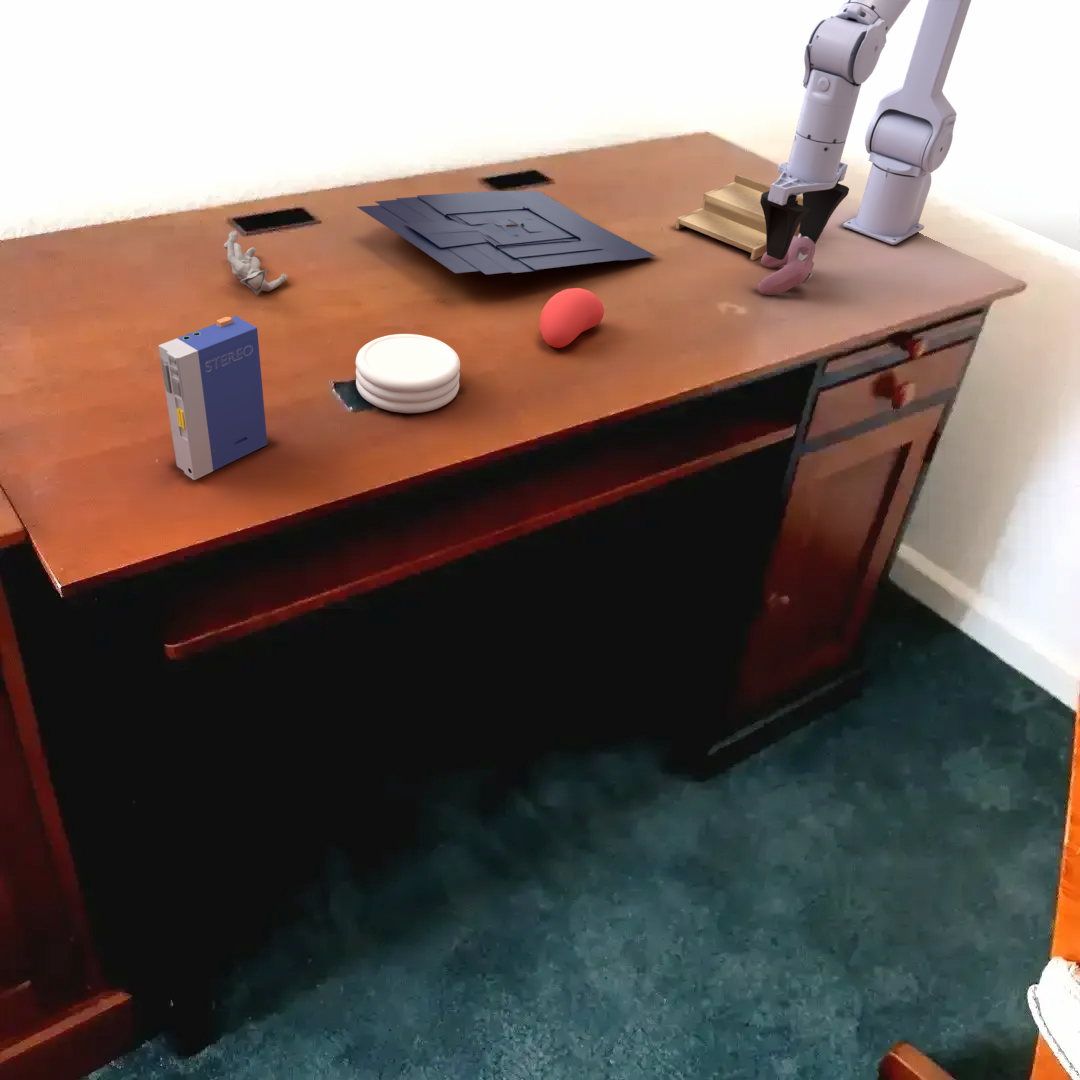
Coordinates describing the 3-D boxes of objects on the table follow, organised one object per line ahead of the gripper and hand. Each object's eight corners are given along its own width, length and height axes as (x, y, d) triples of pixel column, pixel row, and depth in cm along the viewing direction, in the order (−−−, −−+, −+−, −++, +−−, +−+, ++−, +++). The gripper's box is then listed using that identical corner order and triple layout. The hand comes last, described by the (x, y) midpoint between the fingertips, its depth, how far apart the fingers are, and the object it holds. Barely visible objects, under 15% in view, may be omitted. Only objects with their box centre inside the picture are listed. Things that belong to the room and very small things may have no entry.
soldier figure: (276, 265, 124) (306, 277, 114) (251, 299, 124) (279, 313, 114) (221, 221, 120) (248, 229, 110) (195, 255, 120) (220, 266, 110)
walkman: (247, 432, 95) (235, 311, 88) (267, 445, 94) (257, 323, 87) (173, 467, 90) (153, 342, 83) (193, 481, 89) (175, 355, 82)
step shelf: (730, 205, 150) (737, 173, 147) (806, 234, 144) (814, 202, 141) (675, 228, 141) (681, 195, 138) (753, 260, 135) (761, 226, 133)
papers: (346, 223, 130) (348, 193, 128) (532, 209, 148) (537, 183, 146) (461, 303, 116) (466, 272, 114) (652, 277, 134) (659, 249, 132)
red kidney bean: (520, 341, 116) (524, 309, 110) (575, 293, 119) (583, 260, 113) (554, 371, 115) (561, 341, 109) (609, 322, 118) (618, 290, 112)
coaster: (413, 352, 109) (413, 322, 107) (479, 393, 104) (481, 361, 102) (335, 383, 103) (333, 351, 101) (401, 427, 98) (402, 395, 96)
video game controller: (784, 312, 128) (823, 269, 124) (754, 291, 127) (793, 246, 123) (785, 279, 136) (823, 237, 132) (757, 259, 135) (794, 215, 131)
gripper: (821, 115, 127) (793, 224, 135) (757, 135, 118) (731, 252, 126) (874, 132, 123) (842, 243, 132) (812, 154, 114) (782, 272, 123)
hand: (791, 249), depth 129 cm, fingers open, 7 cm apart
